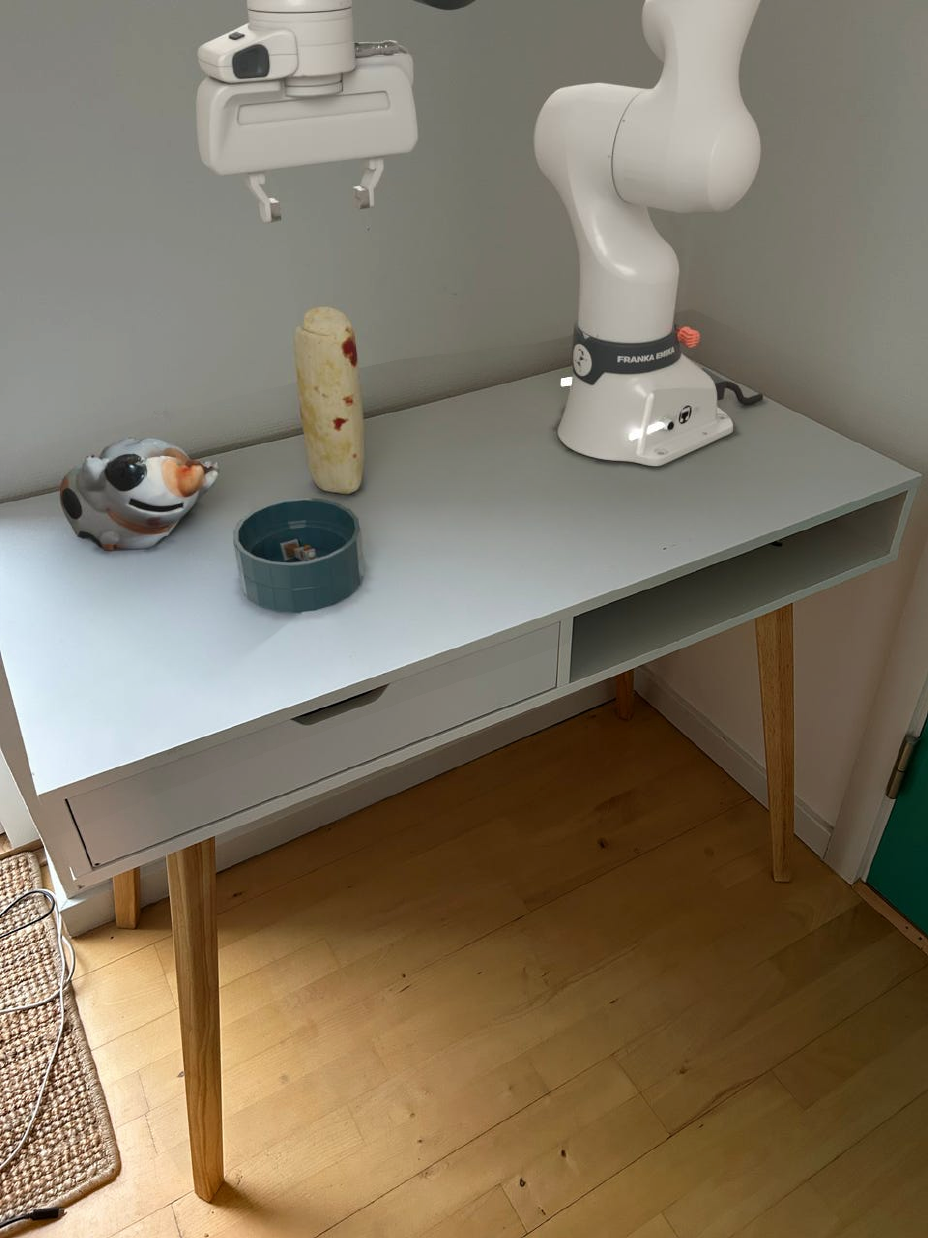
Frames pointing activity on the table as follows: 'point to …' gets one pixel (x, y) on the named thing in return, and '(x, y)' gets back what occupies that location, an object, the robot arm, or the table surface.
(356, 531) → the teal round bowl
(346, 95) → the robot arm
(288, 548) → the wooden post with brackets
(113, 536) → the lucky cat figurine
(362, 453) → the food model
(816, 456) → the table surface
